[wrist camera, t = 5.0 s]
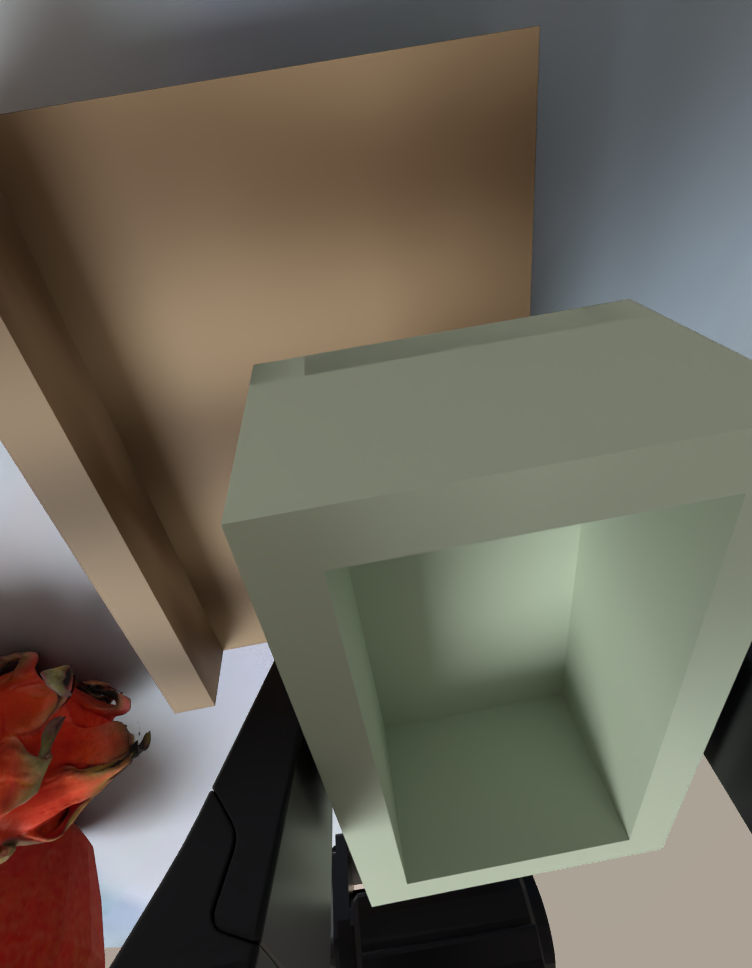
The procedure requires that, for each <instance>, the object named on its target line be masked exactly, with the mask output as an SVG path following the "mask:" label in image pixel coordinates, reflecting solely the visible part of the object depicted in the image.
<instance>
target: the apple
mask: <svg viewBox="0 0 752 968" xmlns="http://www.w3.org/2000/svg"><path fill="white" fill-rule="evenodd" d="M0 968H105V953H104V937H103V921H102V905H101V895H100V889H99V882H98V876H97V869H96V863H95V856H94V850H93V846H92V845H91V843H90V842H89V840H88V839H87V837H86V836H85V835H84V834H83V832H82V831H81V830H80V829H79V828H78V826H77V825H76V824H75V823H74V822H73V823H72V824H71V825H70V826H69V827H68V829H67V830H66V831H65V832H64V834H63V835H62V836H61V837H60V838H58V839H56V840H54V841H51V842H44V843H40V844H32V845H26V846H16V850H15V852H14V853H13V854H12V855H11V856H10V858H9V859H8V860H6V861H5V862H3V863H2V864H0Z"/></svg>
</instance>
